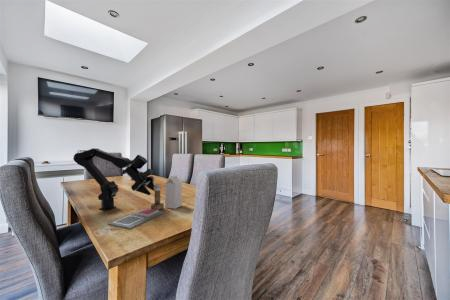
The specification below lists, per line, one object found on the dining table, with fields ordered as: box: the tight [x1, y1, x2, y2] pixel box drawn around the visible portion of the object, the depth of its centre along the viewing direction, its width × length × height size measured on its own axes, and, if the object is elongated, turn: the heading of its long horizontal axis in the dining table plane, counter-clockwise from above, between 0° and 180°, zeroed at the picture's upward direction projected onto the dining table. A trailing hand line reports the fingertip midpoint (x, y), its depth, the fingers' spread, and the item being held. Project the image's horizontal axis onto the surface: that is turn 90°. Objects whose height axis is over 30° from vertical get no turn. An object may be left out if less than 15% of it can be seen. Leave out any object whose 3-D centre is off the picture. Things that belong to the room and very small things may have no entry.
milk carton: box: [164, 175, 183, 210], centre depth 116 cm, size 7×7×19 cm
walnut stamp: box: [150, 183, 165, 211], centre depth 111 cm, size 5×5×15 cm
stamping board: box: [107, 208, 165, 230], centre depth 96 cm, size 14×23×2 cm, turn 160°
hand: (153, 192), depth 111 cm, fingers open, 9 cm apart
